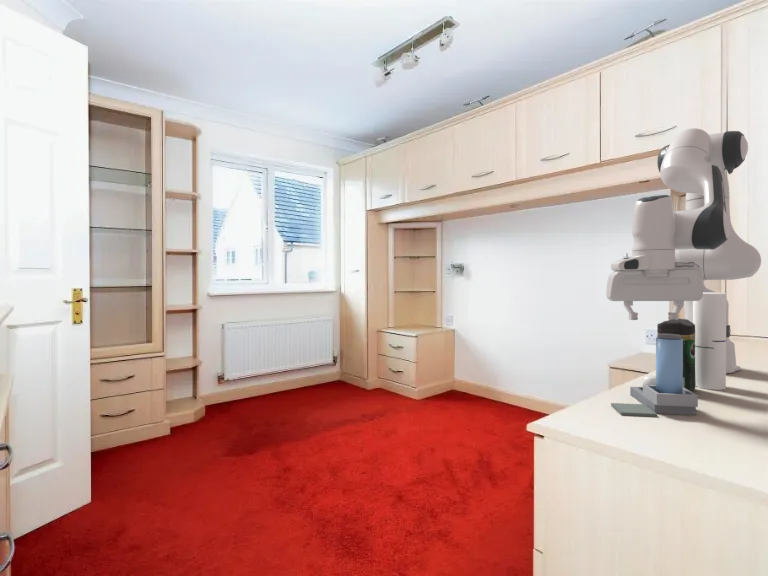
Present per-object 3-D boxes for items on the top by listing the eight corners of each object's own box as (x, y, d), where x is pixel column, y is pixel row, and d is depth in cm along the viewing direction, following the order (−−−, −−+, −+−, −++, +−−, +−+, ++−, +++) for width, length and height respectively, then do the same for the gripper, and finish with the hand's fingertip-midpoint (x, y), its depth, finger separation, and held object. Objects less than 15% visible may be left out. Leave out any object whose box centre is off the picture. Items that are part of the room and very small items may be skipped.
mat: (611, 405, 101) (611, 402, 101) (644, 406, 100) (644, 404, 100) (621, 415, 94) (621, 412, 94) (656, 416, 93) (656, 413, 93)
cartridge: (652, 397, 100) (652, 333, 100) (676, 398, 99) (676, 333, 99) (661, 403, 96) (661, 336, 95) (686, 404, 95) (687, 336, 94)
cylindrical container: (731, 390, 113) (732, 293, 112) (700, 389, 114) (701, 293, 113) (716, 383, 120) (717, 292, 119) (687, 382, 121) (687, 292, 120)
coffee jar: (663, 384, 120) (663, 316, 120) (698, 389, 114) (698, 318, 114) (653, 390, 113) (653, 319, 113) (689, 396, 108) (689, 321, 107)
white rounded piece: (640, 387, 109) (640, 375, 109) (658, 387, 108) (658, 375, 108) (646, 391, 105) (646, 379, 105) (665, 392, 104) (665, 379, 104)
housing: (630, 394, 110) (630, 376, 110) (665, 395, 108) (665, 377, 108) (656, 414, 94) (656, 393, 94) (698, 416, 93) (698, 395, 93)
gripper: (695, 262, 106) (694, 318, 107) (604, 263, 110) (604, 318, 111) (708, 261, 100) (708, 321, 101) (612, 263, 104) (612, 321, 105)
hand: (653, 319), depth 106 cm, fingers open, 7 cm apart
